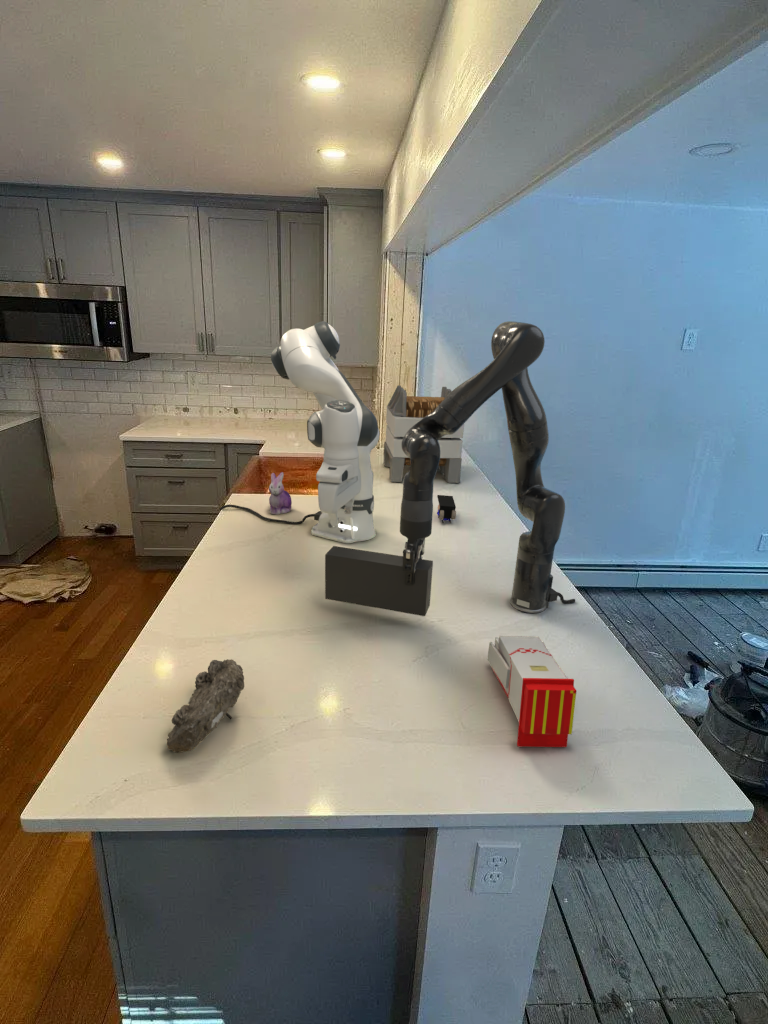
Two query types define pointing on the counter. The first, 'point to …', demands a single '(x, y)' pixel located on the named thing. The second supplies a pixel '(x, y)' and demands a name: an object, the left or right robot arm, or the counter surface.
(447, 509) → the figurine character
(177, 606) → the counter surface
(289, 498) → the figurine
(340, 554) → the box
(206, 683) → the fossil
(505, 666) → the toy
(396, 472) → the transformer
